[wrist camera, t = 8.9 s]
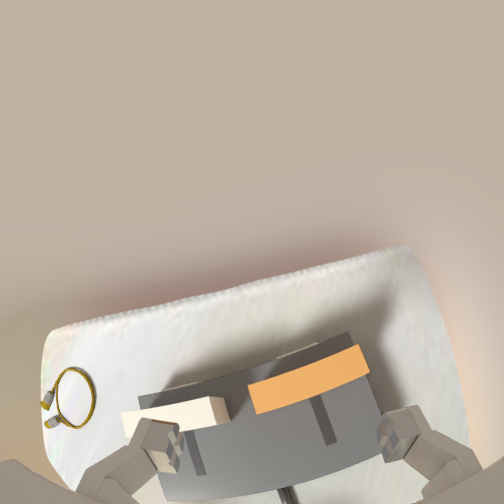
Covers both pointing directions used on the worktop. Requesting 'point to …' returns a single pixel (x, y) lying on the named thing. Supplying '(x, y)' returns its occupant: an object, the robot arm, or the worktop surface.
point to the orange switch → (308, 380)
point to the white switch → (182, 414)
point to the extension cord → (47, 403)
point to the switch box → (271, 432)
